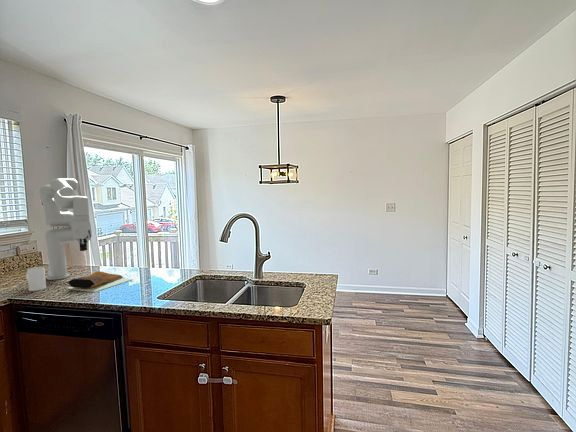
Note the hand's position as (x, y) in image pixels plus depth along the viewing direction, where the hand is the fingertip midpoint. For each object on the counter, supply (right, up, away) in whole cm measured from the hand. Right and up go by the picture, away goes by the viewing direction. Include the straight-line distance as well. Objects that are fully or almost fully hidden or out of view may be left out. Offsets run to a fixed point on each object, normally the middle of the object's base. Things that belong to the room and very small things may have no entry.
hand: (83, 250), depth 195 cm
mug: (-30, -23, +4) cm, 38 cm away
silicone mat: (+4, -21, +11) cm, 24 cm away
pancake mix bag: (0, -18, -2) cm, 18 cm away
